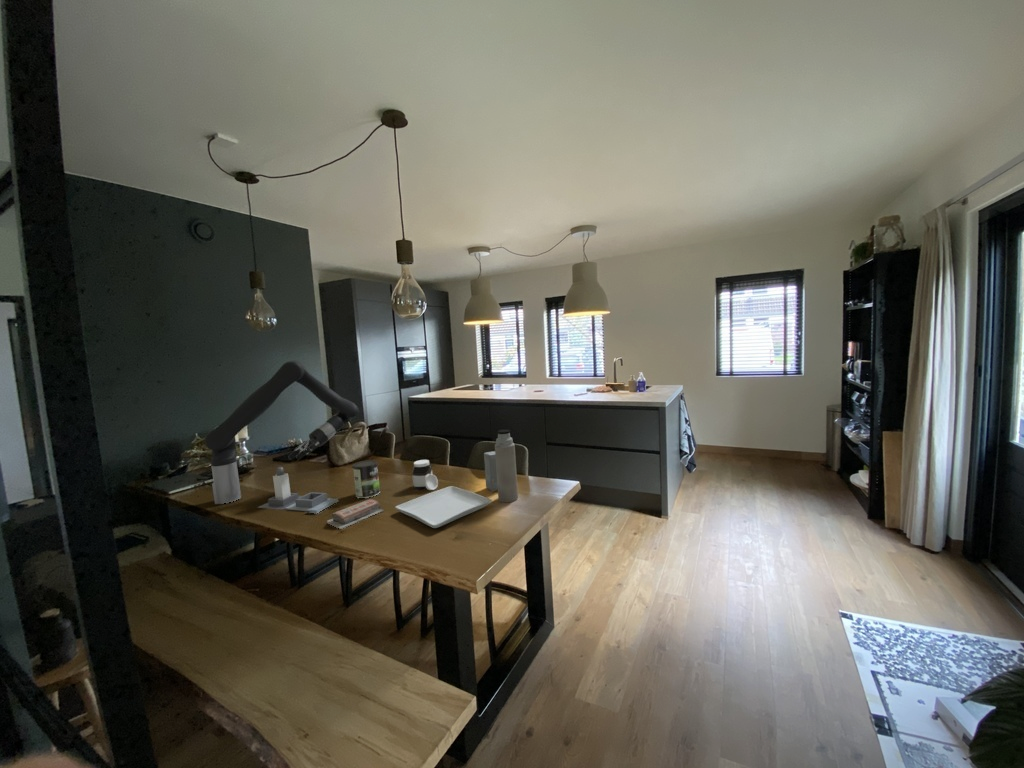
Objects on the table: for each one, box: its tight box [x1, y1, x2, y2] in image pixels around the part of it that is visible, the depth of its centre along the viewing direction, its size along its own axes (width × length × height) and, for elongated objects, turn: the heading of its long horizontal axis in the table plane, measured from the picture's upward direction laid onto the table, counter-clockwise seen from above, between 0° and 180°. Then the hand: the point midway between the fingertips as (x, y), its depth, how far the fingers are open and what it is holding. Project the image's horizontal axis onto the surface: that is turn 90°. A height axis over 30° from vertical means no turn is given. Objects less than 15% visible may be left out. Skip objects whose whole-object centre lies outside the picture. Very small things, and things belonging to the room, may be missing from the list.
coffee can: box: [352, 459, 381, 499], centre depth 178 cm, size 10×10×14 cm
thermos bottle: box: [494, 429, 519, 503], centre depth 162 cm, size 8×8×28 cm
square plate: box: [394, 485, 493, 529], centre depth 155 cm, size 27×27×4 cm
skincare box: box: [483, 450, 498, 493], centre depth 176 cm, size 8×7×16 cm
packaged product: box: [326, 498, 385, 530], centre depth 154 cm, size 18×5×10 cm
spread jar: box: [411, 459, 439, 491], centre depth 182 cm, size 12×11×12 cm
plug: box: [272, 466, 292, 499], centre depth 173 cm, size 4×4×15 cm
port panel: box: [284, 491, 339, 515], centre depth 168 cm, size 16×12×4 cm
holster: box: [256, 492, 303, 510], centre depth 174 cm, size 14×14×4 cm
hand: (293, 458), depth 176 cm, fingers open, 8 cm apart
